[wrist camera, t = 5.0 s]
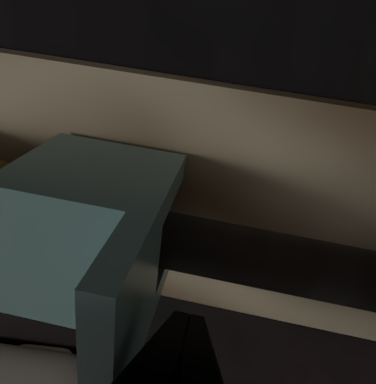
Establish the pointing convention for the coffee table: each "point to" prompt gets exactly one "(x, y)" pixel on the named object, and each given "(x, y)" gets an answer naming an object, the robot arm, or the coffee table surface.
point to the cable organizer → (37, 365)
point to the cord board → (228, 181)
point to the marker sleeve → (87, 243)
